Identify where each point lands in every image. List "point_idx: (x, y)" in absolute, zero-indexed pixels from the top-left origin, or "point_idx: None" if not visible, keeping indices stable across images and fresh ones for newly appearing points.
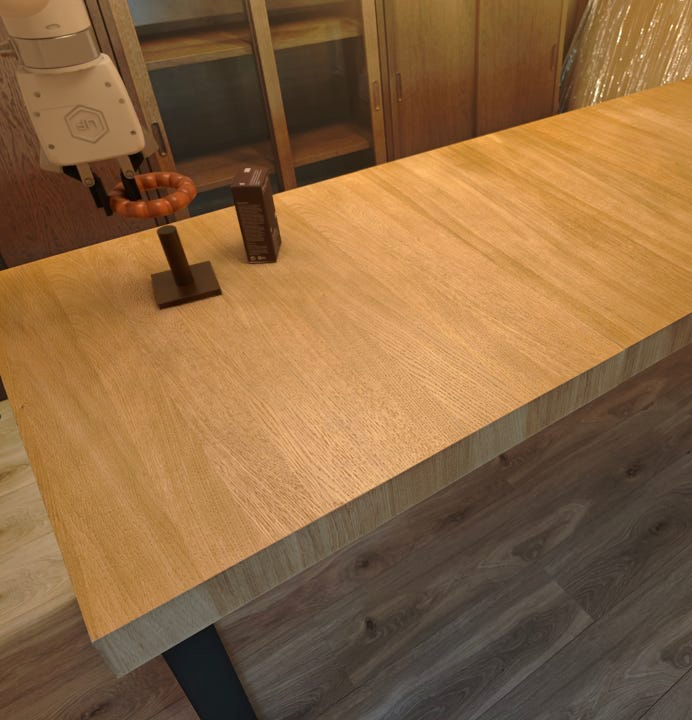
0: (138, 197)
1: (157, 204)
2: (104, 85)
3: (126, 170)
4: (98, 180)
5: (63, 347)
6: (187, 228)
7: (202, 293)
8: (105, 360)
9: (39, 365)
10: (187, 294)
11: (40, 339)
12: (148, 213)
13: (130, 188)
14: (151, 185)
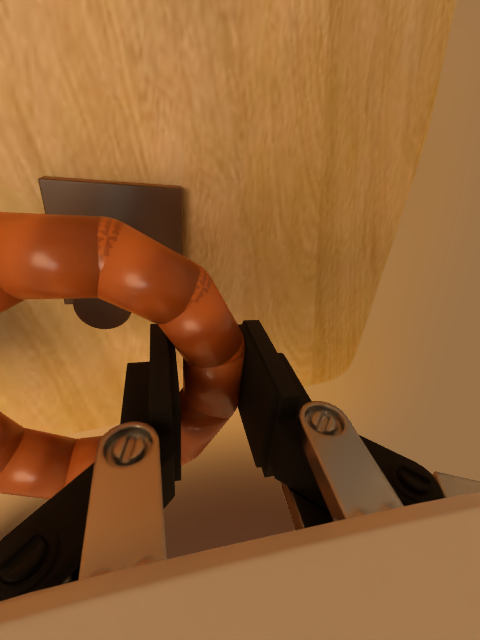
0: (138, 364)
1: (33, 237)
2: None
3: (136, 464)
4: (271, 442)
5: (348, 159)
6: (108, 422)
7: (84, 181)
8: (305, 55)
9: (391, 123)
10: (117, 192)
11: (365, 206)
12: (101, 216)
13: (152, 380)
14: (93, 444)
